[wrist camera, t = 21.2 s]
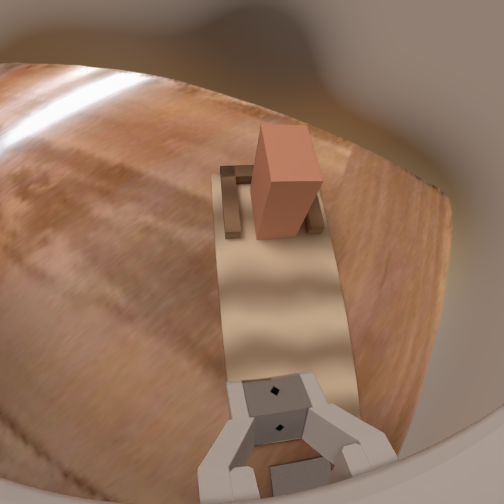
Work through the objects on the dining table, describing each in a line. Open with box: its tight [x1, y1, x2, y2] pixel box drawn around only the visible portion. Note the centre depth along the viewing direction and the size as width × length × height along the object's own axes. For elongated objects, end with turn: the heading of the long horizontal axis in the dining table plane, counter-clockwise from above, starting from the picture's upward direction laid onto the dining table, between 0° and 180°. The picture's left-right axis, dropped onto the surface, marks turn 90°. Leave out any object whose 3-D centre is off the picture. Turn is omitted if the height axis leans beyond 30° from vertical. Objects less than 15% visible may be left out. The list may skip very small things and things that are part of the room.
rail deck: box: [211, 165, 361, 444], centre depth 30 cm, size 28×12×4 cm, turn 6°
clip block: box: [250, 124, 323, 240], centre depth 28 cm, size 6×4×10 cm, turn 6°
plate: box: [270, 456, 331, 497], centre depth 23 cm, size 8×6×1 cm
